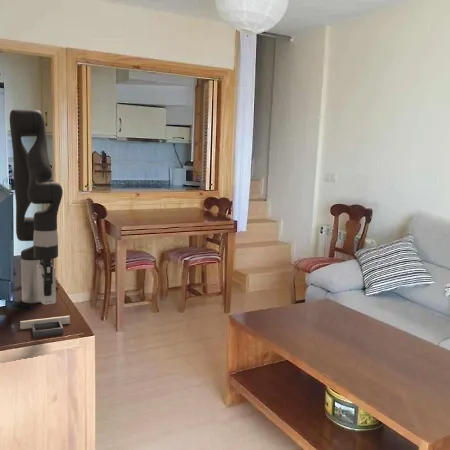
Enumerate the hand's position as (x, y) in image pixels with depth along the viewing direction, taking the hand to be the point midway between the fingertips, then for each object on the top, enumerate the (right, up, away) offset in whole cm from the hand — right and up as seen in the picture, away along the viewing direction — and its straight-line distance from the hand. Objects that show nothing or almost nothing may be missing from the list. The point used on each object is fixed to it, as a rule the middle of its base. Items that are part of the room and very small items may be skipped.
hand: (46, 292), depth 158 cm
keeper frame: (-1, -14, +2) cm, 14 cm away
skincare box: (0, -3, +1) cm, 3 cm away
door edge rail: (-3, -13, +7) cm, 15 cm away
